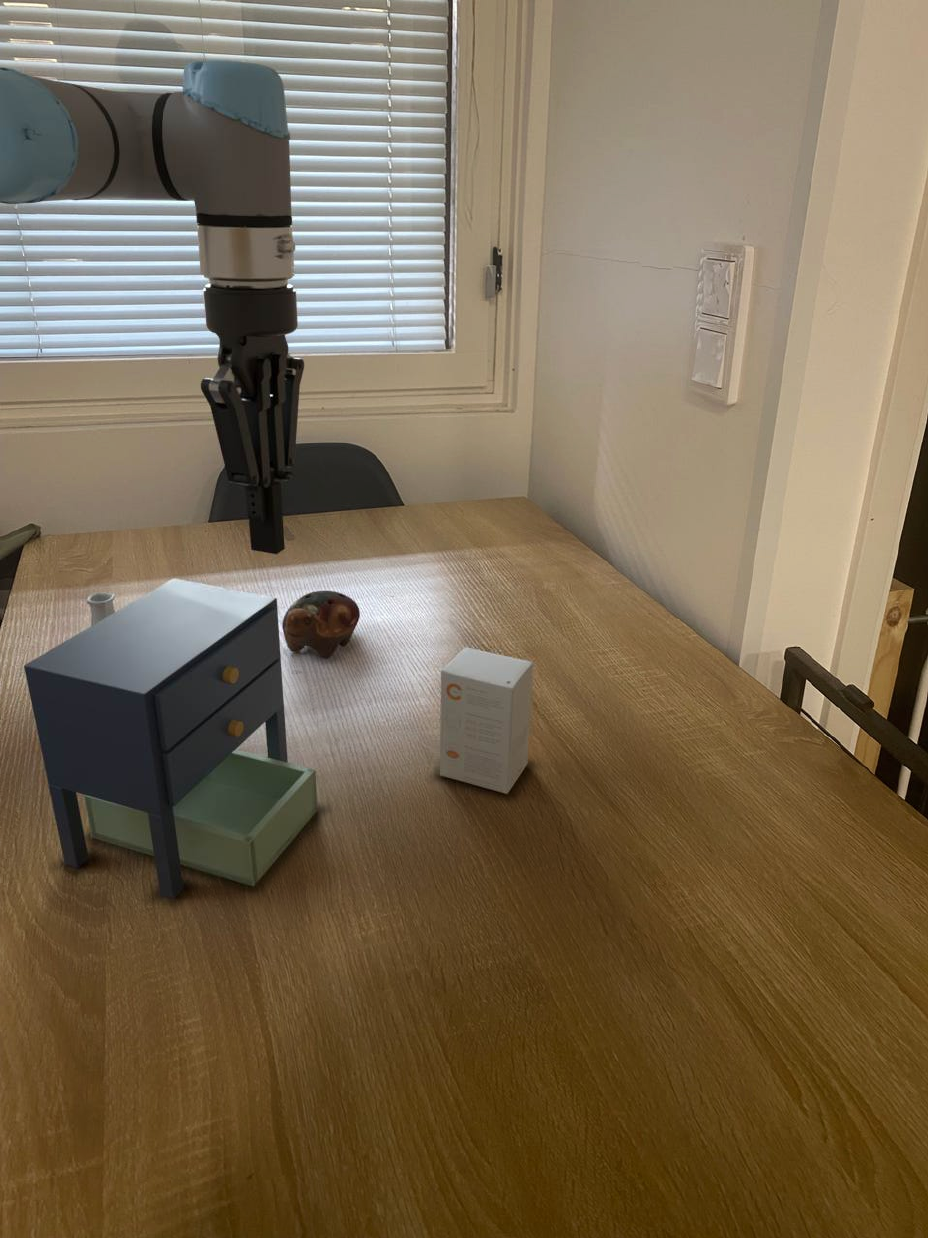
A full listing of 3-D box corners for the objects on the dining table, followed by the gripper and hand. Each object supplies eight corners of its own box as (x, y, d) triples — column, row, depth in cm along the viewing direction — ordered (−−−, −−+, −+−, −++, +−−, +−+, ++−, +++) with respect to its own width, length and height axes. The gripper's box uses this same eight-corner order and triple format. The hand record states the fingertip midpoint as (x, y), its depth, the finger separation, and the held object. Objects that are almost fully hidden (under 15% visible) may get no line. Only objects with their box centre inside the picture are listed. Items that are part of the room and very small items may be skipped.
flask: (124, 684, 114) (113, 612, 109) (70, 678, 115) (57, 606, 110) (151, 657, 120) (141, 588, 116) (100, 651, 121) (88, 583, 117)
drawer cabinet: (64, 864, 84) (23, 665, 75) (194, 751, 101) (173, 577, 92) (187, 903, 80) (159, 698, 71) (300, 779, 97) (289, 600, 88)
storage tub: (91, 837, 88) (83, 795, 85) (169, 770, 98) (163, 730, 96) (253, 886, 82) (249, 843, 80) (317, 810, 92) (315, 769, 90)
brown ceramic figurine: (264, 666, 119) (259, 609, 116) (315, 625, 132) (311, 573, 129) (332, 675, 116) (328, 617, 113) (377, 633, 130) (375, 579, 127)
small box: (528, 764, 101) (535, 661, 95) (507, 796, 95) (513, 688, 90) (461, 746, 103) (464, 644, 98) (437, 776, 98) (439, 670, 92)
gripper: (245, 292, 68) (266, 581, 78) (327, 278, 79) (336, 533, 89) (161, 285, 70) (192, 567, 81) (252, 273, 81) (269, 522, 92)
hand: (268, 549), depth 85 cm, fingers closed
